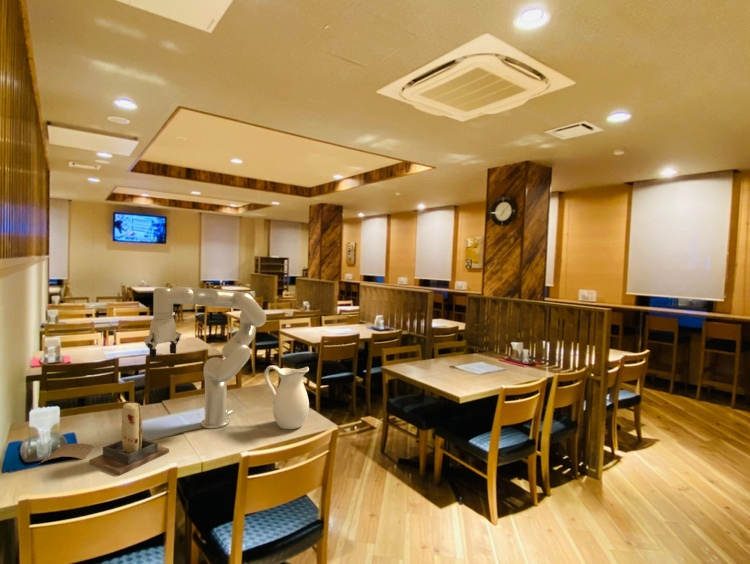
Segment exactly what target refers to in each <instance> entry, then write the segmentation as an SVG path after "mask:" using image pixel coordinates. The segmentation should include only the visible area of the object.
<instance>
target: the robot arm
mask: <svg viewBox="0 0 750 564" xmlns="http://www.w3.org/2000/svg"><path fill="white" fill-rule="evenodd" d="M188 304H192V305H200V306H204V307H211V308H223V309H235V310H240V311H241V312H240V314H239V321H240V323H239V328H238V330H237V331H236V333H235V334H234V335H233V336H232V337H231V338H230V339H229V340H228V341H227V342H226V343H225V344H224V346H223V347H222V349H221V354H222V357H223V358H224V359H223V358H220V357H211V358H209V359H207V360H206V362H205V363H204V365H203V376H204V419H203V420H202V421H201V422H200V426H201V427H202V428H204V429H219V428H223V427H225V426H227V425H229V423H230V418H229V416H230V415H232V414H234V410H232V409H230V410H227V382H229V381H230V380H232V379H233V378H234V377H235V376H236V375H237V374H238V373H239V372H240V371H241V369H242V368H243V367H244V365H245V364H247V362H248V361H249V359H250V356H251V349H250V347H249V345H250V344H251V343H252V342H253V340H254V339H255V337H256V332H257V328H261V327H263V326H264V325H265V323H266V321H267V315H266V312H265V311H264V309H263V308H262V307H261V306H260V305H259V304H258V302H257V301H256V299H255V298H254V297H253V296H252V295H251V294H250V293H247V292H245V291H237V290H227V289H217V288H202V287H201V288H199V287H190V286H180V285H176V286H175V285H174V286H172V287H156V288H154V290H153V314H152V315H153V319H151V321H150V326H149V333H148V336H146V337H145V338H144V339H143V343H145V346H146V347H147V348H148V349H149V358H150V359H156V358H157V348H156V347H157V345H159V344H165V343H170V344H169V354H173V355H177V345H178V344H179V342H180V340H181V337H182V333H181V332H178V331H177V330H176V329H177V328H176V322H175V319H174V316H175V315H176V314H175V312H174V305H188Z"/></svg>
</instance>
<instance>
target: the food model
mask: <svg viewBox="0 0 750 564" xmlns="http://www.w3.org/2000/svg"><path fill="white" fill-rule="evenodd" d="M142 410H143V409H142V406H141V404H140V403H138V402H127V403H124V404H123V406H122V412H121V415H122V416H121V440H122V444H123V451H124V453H127V454H131V453H133V452H136V451H138V450H140V449H141V445H142V439H143V413H142Z"/></svg>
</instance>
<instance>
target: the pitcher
mask: <svg viewBox="0 0 750 564" xmlns="http://www.w3.org/2000/svg"><path fill="white" fill-rule="evenodd" d="M270 370H274V371H275V372H276V373H277V374H278V376H279V378H280V383H279V386H278V388H277V390H275V388H274V386H273V384H272V383H271V381H270V377H269V372H270ZM309 371H310V368H309V366H305V367H303V368H301V367H300V368H298V369H293V368H289V367H286V368H285V367H283V368H280V367H279V366H278V365H269V366H267V367H266V369H264V375H263V376H264V380H265V383H266V385H267V387H268V388H269V390H270V391H271V394H272V396H273V401H272V413H273V418H274V420H275V422H276V424H277V426H278V427H279V428H281V429H283V430H296V429H299V428H301V427H302V426H304V424H305V422H306V421H307V418H308V414H309V409H310V401H309V396H308V395H309V394H308V392H307V390H306V387H305V384H304V380H303V379H304V378H303V377H304V376H305V374H306V373H308V372H309Z"/></svg>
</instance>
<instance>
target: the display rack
mask: <svg viewBox="0 0 750 564" xmlns="http://www.w3.org/2000/svg"><path fill="white" fill-rule="evenodd" d="M169 453H170V448H168V447H165V446H162V445H159V444H158V442H154V441H151V440H148V439H145V438H142V445H141V449H140V450H138V451H136V452H133V453H131V454H127V453H124V451H123V444H122V439H120V440H118V441H115V442H114V443H113V442H112V443H110V444H108V445H106V446H103V447H102V454H100V455H97V456H95V457H93V458H90V459H89V460H88V462H89V465H92V466H94V467H97V468H100V469H102V470H105V471H108V472H110V473H113V474H116V475H119V476H121V475H122V476H123V475H124V474H126V473H128V472H130V471H132V470H135V469H136V468H139V467H141V466H143V465H145V464H148V463H149V462H152V461H154V460H155V459H158V458H160V457H162V456H164V455H166V454H169Z"/></svg>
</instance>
